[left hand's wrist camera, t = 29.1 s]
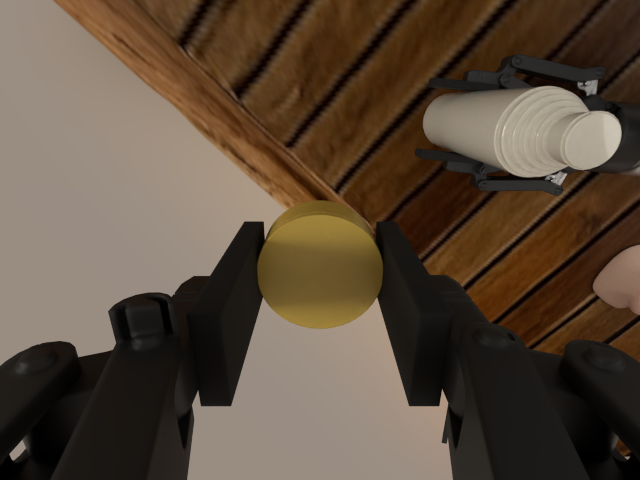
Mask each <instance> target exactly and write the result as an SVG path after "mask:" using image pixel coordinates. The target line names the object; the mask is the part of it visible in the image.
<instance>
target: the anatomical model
mask: <svg viewBox="0 0 640 480" xmlns="http://www.w3.org/2000/svg"><path fill="white" fill-rule="evenodd" d="M593 290H594V292H595V293H596V294H597V295H598V296H599V297H600V298H601V299H602V300H604V301H605V302H606V303H608V304H610V305H611V306H613V307H616V308H626V307H630V309H631V310H632V311H633V312H634V313H635V314H638V315H640V245H636V246H632V247H630V248H627V249H626V250H624V251H622V252H621V253H619V254H618V255H617V256H616V257H614V258H613V259H612V260H611V261H610V262H609V263H608V264H607V265H606V266H605V267H604V269H603V270H602V271H601V272H600V273H599V275H598V276H597V278H596V279H595V281H594V283H593Z"/></svg>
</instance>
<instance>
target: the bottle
mask: <svg viewBox="0 0 640 480" xmlns="http://www.w3.org/2000/svg"><path fill="white" fill-rule="evenodd" d="M423 128H424V132H425V135H426V137H427V138H428V139H429V141H430V142H432V143H433V144H435V145H436V146H439V147H442V148H444V149H447V150H450V151H452V152H455V153H458V154H460V155H463V156H466V157H469V158H471V159H474V160H477V161H479V162H482V163H485V164H487V165H490V166H493V167H495V168H498V169H501V170H503V171H506V172H509V173H511V174H514V175H517V176H521V177H541V176H546V175H549V174H552V173H555V172H557V171H559V170H562V169H563V168H565V167H568V166H569V167H571V168H574V169H579V170H586V169H592V168H594V167H597V166H600V165H601V164H603V163H605V162H606V161H607V160H609V159H610V158H611V157H612V156H613V154H614V153H615V152H616V150H617V148H618V146H619V144H620V141H621V135H622V131H621V125H620V123H619V121H618V119H617V118H616V117H615V116H614V115H613V114H611V113H609V112H605V111H589V110H588V109H587V107H586V106H585V104H584V103H583V102H582V101H581V99H580V98H579V97H578V96H576V95H575V94H574V93H572V92H570V91H567V90H565V89H563V88H560V87H556V86H540V87H526V88H512V89H498V90H484V91H470V92H456V93H447V94H444V95H441V96H439V97H438V98H436V99H435V100H434V101H433V102H432V103H431V104H430V105H429V107H428V108H427V110H426V112H425V115H424V120H423Z"/></svg>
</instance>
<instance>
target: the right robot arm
mask: <svg viewBox="0 0 640 480" xmlns="http://www.w3.org/2000/svg"><path fill="white" fill-rule="evenodd" d="M515 72H518V73H522V74H526V75H531V76H535V77H539V78H543V79H548V80H552V81H556V82H561V83H571V87H572V88H573V89H574V90H579V91H580V93H581V96H579V98H580V99H581V101H582V102H583V103H584V104H585V106H586V107H587V109H588V110H589V111H605V112H609V113H611V114H613V115H614V116H615V117H616V118H617V119H618V121H619V123H620V125H621V131H622V135H621V141H620V144H619V146H618V148H617V150H616V152H615V153H614V154H613V156H612V157H611V158H610V159H609V160H607V161H606V162H605V163H603V164H601V165H600V166H597V167H594V168H592V169H586V170H579V169H574V168H571V167H569V166H568V167H565V168H563V169H562V170H559V171H557V172H555V173H552V174H549V175H546V176H541V177H540V178H538V177H521V176H486V174H488V173H492V172H496V171H500V170H501V169H498V168H495V167H493V166H490V165H487V164H485V163H482V162H479V161H477V160H474V159H471V158H469V157H466V156H463V155H460V154H458V153H455V152H446V151H436V150H426V149H416V151H415V155H416V156H417V157H419V158H422V159H432V160H442V161H444V164H443V167H444V168H446V169H448V170H449V171H454V172H464V173H470V174H471V180H470V184H471V185H472V186H474V187H475V188H477V189H479V190H481V191H545V192H548V193H550V194H553V195H556V196H558V195H560V194H561V193H562V192H563V187H562V186H560V185H561V184H562V182H563V180H564V179H565V177H566V175H567V174H571V173H574V172H576V171H592V172H601V173H611V174H615V173H617V174H621V175H631V176H640V104H631V103H622V102H613V101H606V100H604V99H603V98H602V97H601V96H599V95H597V94H596V92H597V84H598V80H599V79H602V78H603V77H604V76H605V73H606V69H605V68H604V67H594V68H586V69H580V68H576V67H572V66H568V65H564V64H559V63H555V62H551V61H547V60H543V59H538V58H534V57H530V56H526V55H522V54H517V55H513V56H509V57H505V58H504V59H502V61H501V66H500V67H499V69H498V70H497V71H496V72H488V71H479V70H472V71H468V72H465V73H464V75H463V80H452V79H443V78H434V79H429V84H428V87H434V88H443V89H452V90H462V91H484V90H498V89H512V88H526V87H532V86H531V85H529V84H527V83H525V82H524V81H522V80H520V79H518V78H517V77H515V76H513V75H514V73H515Z"/></svg>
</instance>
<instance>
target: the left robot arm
mask: <svg viewBox="0 0 640 480" xmlns="http://www.w3.org/2000/svg"><path fill="white" fill-rule="evenodd" d="M375 241H376V244H377V246H378V249H379V251H380V254H381V257H382V261H383V277H382V286H381V289H380V292H379V294H378V296H377V298H378V301H379V304H380V308H381V312H382V315H383V318H384V322H385V325H386V329H387V332H388V335H389V339H390V342H391V346H392V349H393V352H394V356H395V359H396V363H397V366H398V369H399V373H400V376H401V380H402V383H403V387H404V390H405V393H406V397H407V400H408V404H409V406H439V404H440V398H441V392H442V389H443V392H444V394H445V396H446V399H447V401H448V409H447V415H446V420H445V426H444V432H443V438H442V443H447V439H448V441H449V450H450V458H451V466H452V474H453V480H640V363H639V362H637V361H636V360H635V359H633V358H632V357H630V356H629V355H627V354H626V353H624V352H623V351H621V350H618V349H616V348H614V347H612V346H610V345H608V344H605V343H600V342H597V341H590V340H575V341H571V342H569V343H568V344H567V345H566V346H565V349H564V353H563V356H561V355H555V354H550V353H545V352H540V351H535V350H531V349H528V348H526V346H525V344H524V342H523V341H522V340H521V339H520V337H519V336H518V335H516V334H515V333H514V332H512V331H511V330H509V329H507V328H505V327H502V326H500V325H497V324H493V323H489V321H488V320H487V319H486V317H485V316H484V315H483V314H482V312H481V311H480V310H479V308H478V307H477V306H476V304H475V303H474V302H473V301H471V298H470V297H469V295H468V294H467V293H466V291H465V290H464V289H463V288H462V286H461V285H460V284H459V283H458V282H457V281H455V280H454V279H452V278H450V277H449V276H447V275H429V273H428V272H427V270H426V269H425V267H424V266H423V264H422V262H421V261H420V259H419V258H418V256H417V254H416V253H415V251H414V250H413V248H412V247H411V245H410V243H409V242H408V240H407V239H406V237H405V236H404V234H403V232H402V231H401V229H400V228H399V226H398V225H397V223H396V222H377V224H376V240H375ZM264 242H265V237H264V222H244V223H243V225H242V227H241V228H240V230H239V231H238V233H237V234H236V236H235V238H234V239H233V241H232V242H231V244H230V246H229V247H228V249H227V250H226V252H225V253H224V255H223V256H222V258H221V260H220V261H219V263H218V264H217V266H216V267H215V269H214V271H213V272H212V274H211V275H210V276H193V277H192V278H190V279H189V280H187V281H185V282H184V283H182V284H181V285H180V287H179V288H178V289H177V291H176V292H175V295H173V296H172V297H171V296H169V295H168V294H163V293H144V294H139V295H135V296H132V297H129V298H126V299H124V300H122V301H120V302H118V303H117V304H115V305H114V306H113V307H112V308H111V309H110V310H109V311H108V313H109V316H110V321H111V324H112V328H113V332H114V336H115V340H116V345H115V347H114V349H113V350H111V351H108V352H103V353H98V354H93V355H88V356H83V357H78V355H77V352H76V348H75V346H73V345H72V344H71V343H69V342H62V341H57V342H47V343H42V344H40V345H39V344H38V345H35V346H32V347H30V348H29V349H26V350H24V351H22V352H20V353H18V354H16V355H15V356H13V357H12V358H10V359H9V360H7V361H6V362H4V363H3V364H2V365H1V366H0V480H187V475H188V467H189V459H190V451H191V442H192V434H193V426H194V415H193V409H192V403H193V401H194V398H195V396H196V394H197V392H198V391H199V397H200V403H201V406H231V404H232V401H233V398H234V394H235V391H236V387H237V384H238V380H239V377H240V374H241V370H242V367H243V363H244V360H245V356H246V353H247V350H248V346H249V343H250V339H251V336H252V333H253V329H254V326H255V323H256V319H257V316H258V312H259V309H260V305H261V302H262V299H263V296H262V293H261V291H260V289H259V285H258V273H257V262H258V258H259V255H260V252H261V249H262V247H263V244H264ZM618 438H620V440H621V441H622V442H623V443H624V444H625V445H626V446H627V447H628V448H629V450H630V451H631V452H632V454H631V456H630V458H629V459H628V460H627V459H626V458H625V457H624V456H622V455H621V454H620V452H619V451H618V450H617V449H616V448H615V445H616V443H617V440H618ZM21 440H23V442H24V444H25V447H26V449H25V450H24V451H23V453H22V454H21V455H20V456H19V457H18V458H16V459H15V460H14V461H13V460H12V459H11V457H10V455H9V454H10V453H11V451H12V450H13V449H14V448H15V447H16V446H17V445H18V444H19V443H20V441H21Z"/></svg>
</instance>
